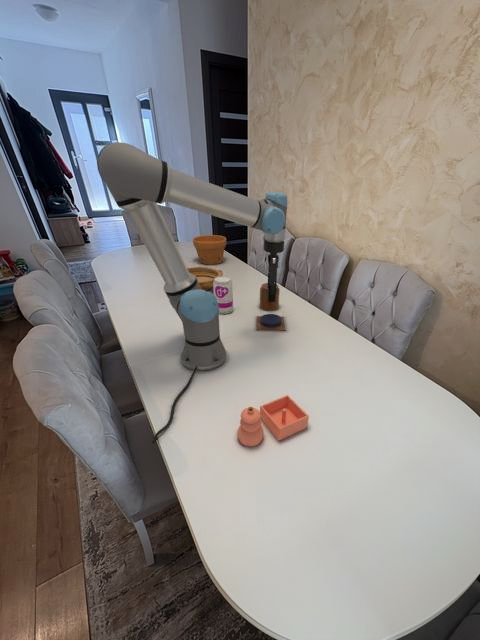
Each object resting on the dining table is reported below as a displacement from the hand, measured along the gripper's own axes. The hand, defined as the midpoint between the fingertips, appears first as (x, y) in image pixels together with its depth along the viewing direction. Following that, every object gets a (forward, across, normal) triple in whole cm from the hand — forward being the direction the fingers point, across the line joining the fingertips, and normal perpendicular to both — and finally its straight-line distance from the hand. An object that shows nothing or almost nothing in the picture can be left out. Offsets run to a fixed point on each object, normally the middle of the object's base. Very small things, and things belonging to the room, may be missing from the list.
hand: (271, 294), depth 123 cm
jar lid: (+11, 0, +1) cm, 11 cm away
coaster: (+13, 0, 0) cm, 13 cm away
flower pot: (+13, -86, -36) cm, 95 cm away
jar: (+13, -17, 0) cm, 22 cm away
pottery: (+14, +59, -2) cm, 60 cm away
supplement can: (+14, -12, -20) cm, 28 cm away
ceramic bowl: (+14, -38, -36) cm, 55 cm away
